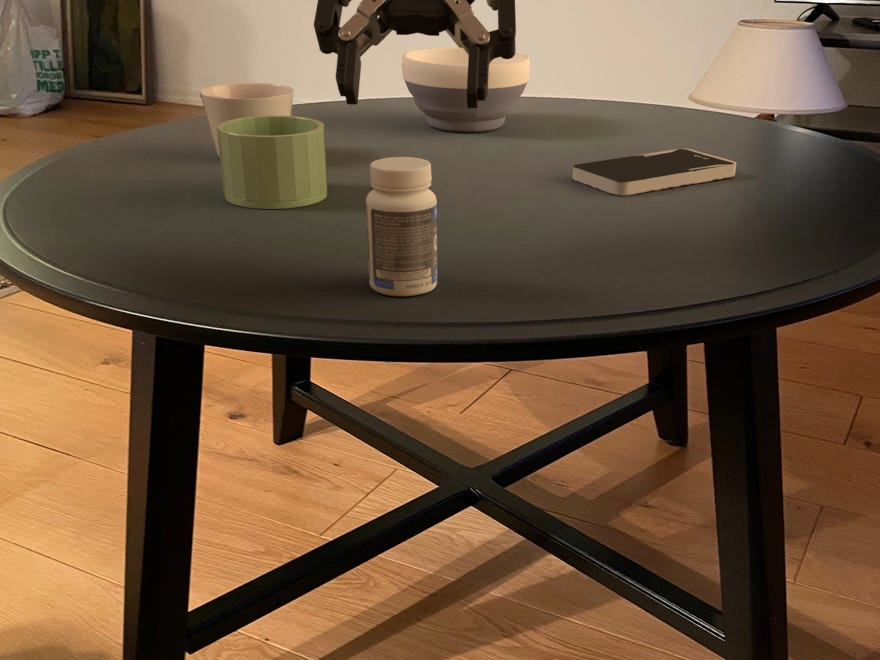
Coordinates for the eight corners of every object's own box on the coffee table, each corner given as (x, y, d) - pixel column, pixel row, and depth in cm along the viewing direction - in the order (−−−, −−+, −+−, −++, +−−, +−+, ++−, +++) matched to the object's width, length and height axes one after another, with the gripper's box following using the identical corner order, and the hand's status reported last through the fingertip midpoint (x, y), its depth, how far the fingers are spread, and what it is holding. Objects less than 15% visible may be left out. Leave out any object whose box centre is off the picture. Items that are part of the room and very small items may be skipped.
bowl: (381, 131, 115) (380, 59, 112) (431, 109, 127) (431, 44, 124) (503, 143, 111) (505, 69, 107) (543, 120, 123) (546, 52, 119)
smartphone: (569, 165, 98) (685, 147, 105) (568, 179, 98) (684, 161, 106) (621, 183, 92) (740, 163, 99) (620, 198, 93) (738, 177, 100)
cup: (281, 215, 86) (275, 141, 83) (202, 198, 90) (194, 127, 87) (348, 192, 92) (345, 123, 89) (272, 177, 96) (267, 111, 93)
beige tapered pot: (196, 151, 105) (188, 86, 102) (279, 143, 109) (275, 80, 106) (222, 170, 99) (215, 101, 95) (311, 161, 102) (306, 94, 99)
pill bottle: (450, 290, 70) (450, 166, 66) (388, 302, 68) (385, 174, 64) (416, 271, 74) (414, 151, 70) (357, 281, 72) (352, 159, 67)
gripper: (321, -134, 73) (300, 62, 68) (522, -129, 72) (513, 68, 68) (337, -54, 80) (319, 128, 76) (519, -49, 80) (512, 134, 75)
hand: (411, 99), depth 72 cm, fingers open, 8 cm apart
